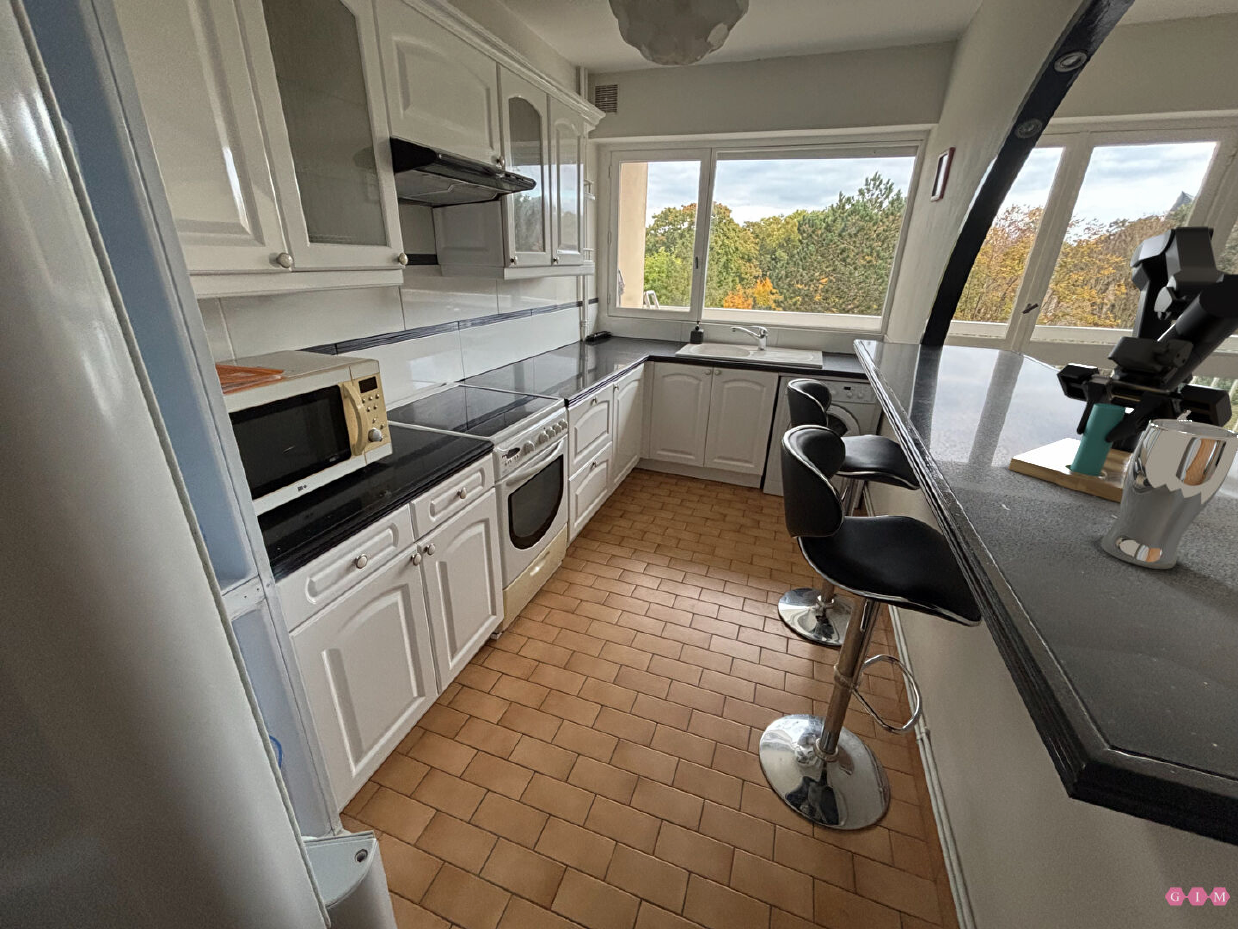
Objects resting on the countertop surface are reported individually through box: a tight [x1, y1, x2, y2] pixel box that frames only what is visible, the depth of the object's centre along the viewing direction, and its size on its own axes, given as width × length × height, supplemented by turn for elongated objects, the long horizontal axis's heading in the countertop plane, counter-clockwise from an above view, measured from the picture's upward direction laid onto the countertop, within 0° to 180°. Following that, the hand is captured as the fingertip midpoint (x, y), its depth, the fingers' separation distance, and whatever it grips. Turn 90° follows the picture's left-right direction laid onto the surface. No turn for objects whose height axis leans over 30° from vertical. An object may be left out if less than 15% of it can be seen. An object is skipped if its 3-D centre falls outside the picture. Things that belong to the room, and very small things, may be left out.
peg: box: [1070, 403, 1126, 476], centre depth 74 cm, size 3×3×11 cm
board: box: [1008, 438, 1133, 504], centre depth 79 cm, size 20×14×2 cm
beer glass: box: [1100, 419, 1238, 570], centre depth 54 cm, size 7×7×15 cm
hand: (1092, 436), depth 73 cm, fingers closed on peg, 3 cm apart
